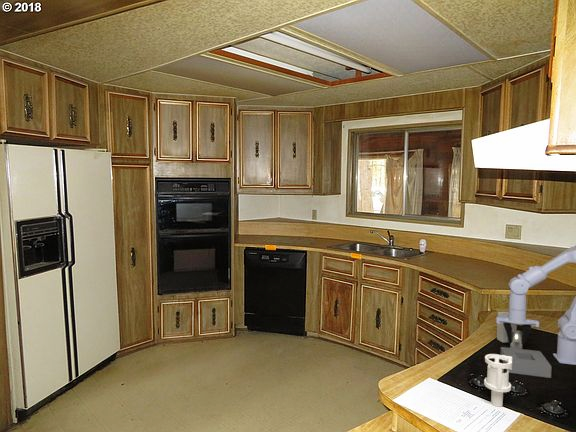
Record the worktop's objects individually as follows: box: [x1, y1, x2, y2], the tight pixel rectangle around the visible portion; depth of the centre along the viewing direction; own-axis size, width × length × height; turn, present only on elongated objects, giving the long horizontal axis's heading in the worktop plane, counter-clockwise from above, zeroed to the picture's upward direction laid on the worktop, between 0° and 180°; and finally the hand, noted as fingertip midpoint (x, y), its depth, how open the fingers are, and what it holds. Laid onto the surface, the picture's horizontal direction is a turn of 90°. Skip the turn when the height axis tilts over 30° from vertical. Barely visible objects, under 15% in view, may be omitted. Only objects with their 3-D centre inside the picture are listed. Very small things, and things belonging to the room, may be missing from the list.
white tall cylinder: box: [483, 353, 512, 408], centre depth 117 cm, size 7×7×15 cm
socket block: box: [500, 346, 552, 379], centre depth 142 cm, size 13×13×4 cm
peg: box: [509, 329, 523, 349], centre depth 154 cm, size 4×4×7 cm
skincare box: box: [496, 311, 518, 343], centre depth 166 cm, size 6×4×12 cm
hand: (516, 342), depth 154 cm, fingers closed on peg, 4 cm apart
